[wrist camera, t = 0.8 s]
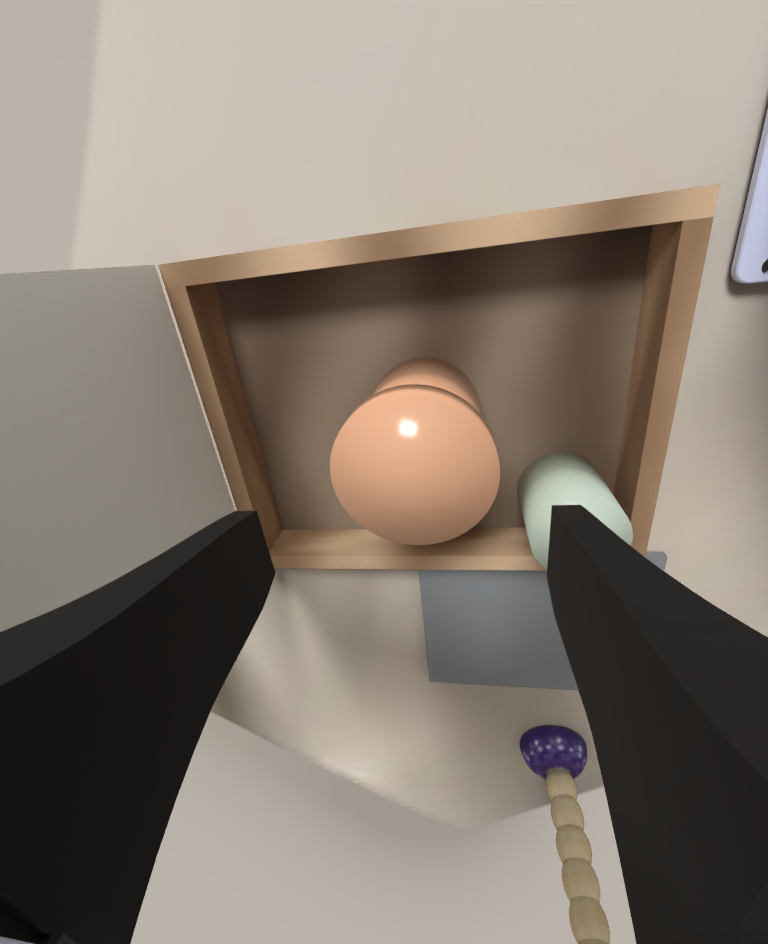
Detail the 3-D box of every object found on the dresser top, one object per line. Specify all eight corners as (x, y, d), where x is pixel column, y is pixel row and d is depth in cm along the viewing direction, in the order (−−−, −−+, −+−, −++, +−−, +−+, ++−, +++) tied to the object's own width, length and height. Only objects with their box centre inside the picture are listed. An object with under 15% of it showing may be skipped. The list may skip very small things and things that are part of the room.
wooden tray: (677, 194, 14) (720, 184, 12) (621, 535, 20) (642, 571, 18) (196, 262, 18) (158, 265, 15) (275, 537, 24) (255, 568, 22)
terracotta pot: (487, 344, 17) (500, 387, 12) (487, 464, 19) (499, 544, 14) (356, 356, 18) (315, 400, 13) (373, 469, 20) (344, 545, 15)
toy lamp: (517, 718, 28) (583, 1231, 13) (593, 720, 27) (754, 1277, 12) (521, 761, 30) (582, 1244, 15) (592, 764, 29) (729, 1286, 14)
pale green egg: (604, 449, 18) (639, 497, 15) (595, 519, 20) (625, 577, 16) (517, 453, 19) (532, 500, 15) (516, 521, 21) (528, 576, 17)
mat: (663, 551, 21) (667, 557, 20) (633, 687, 25) (635, 693, 25) (417, 551, 23) (417, 556, 22) (430, 675, 27) (430, 681, 27)
